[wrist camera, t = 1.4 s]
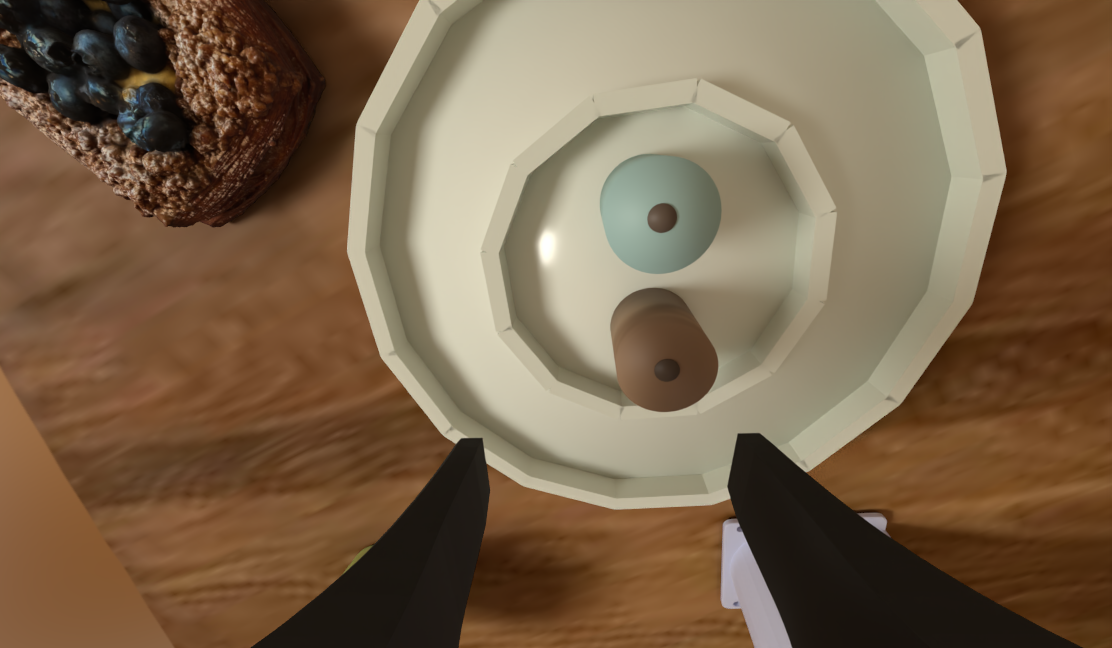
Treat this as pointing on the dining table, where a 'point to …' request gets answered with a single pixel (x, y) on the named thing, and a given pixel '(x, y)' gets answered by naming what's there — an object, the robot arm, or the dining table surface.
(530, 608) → the dining table surface
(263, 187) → the pastry
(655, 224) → the teal bead
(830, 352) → the groove tray
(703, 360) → the walnut bead
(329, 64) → the dining table surface
